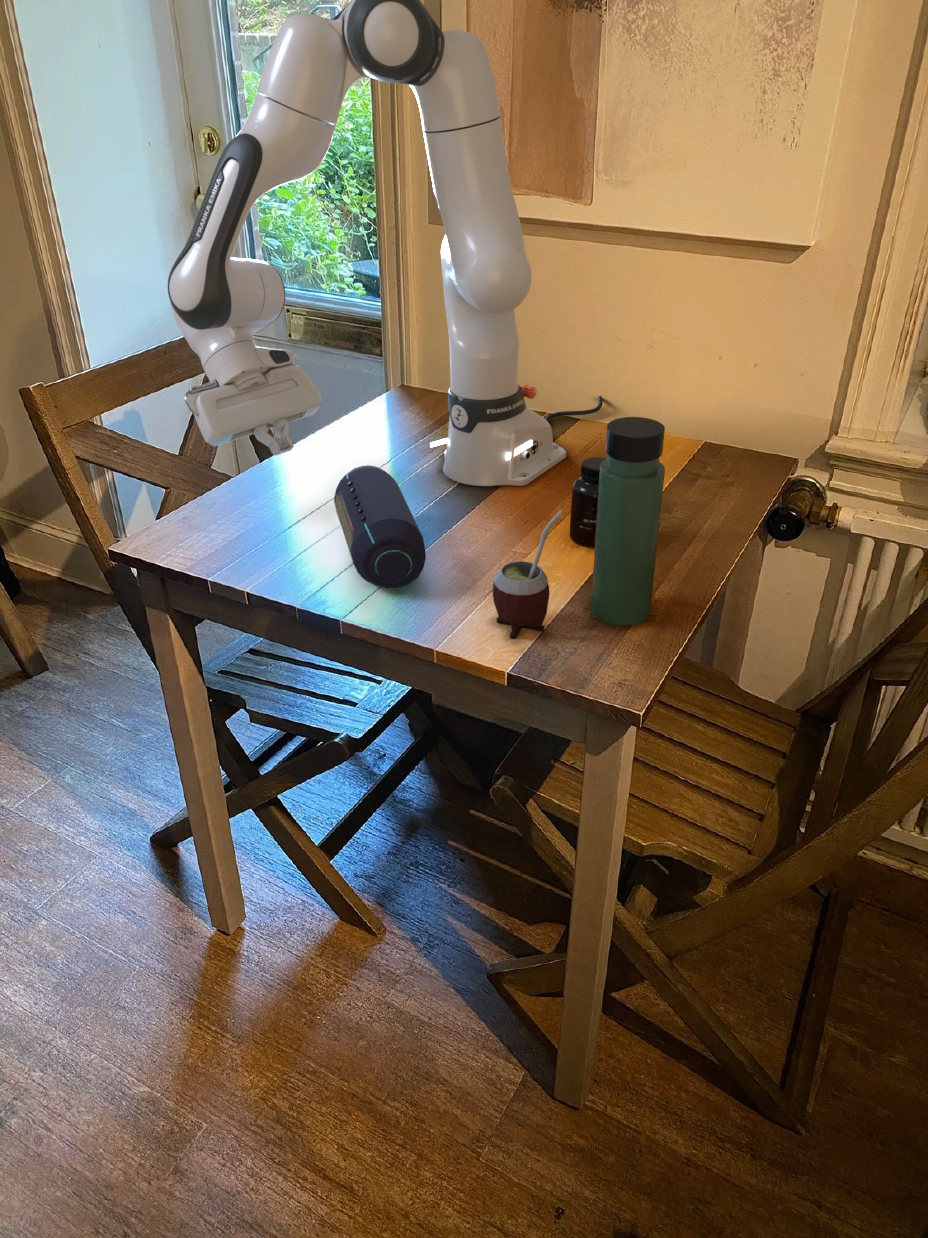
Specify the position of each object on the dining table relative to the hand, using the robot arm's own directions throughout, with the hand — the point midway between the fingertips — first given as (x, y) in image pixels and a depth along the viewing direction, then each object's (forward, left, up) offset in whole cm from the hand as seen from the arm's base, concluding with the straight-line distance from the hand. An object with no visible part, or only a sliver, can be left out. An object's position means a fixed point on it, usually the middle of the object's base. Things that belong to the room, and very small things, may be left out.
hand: (284, 451), depth 143 cm
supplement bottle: (-25, +40, -10) cm, 49 cm away
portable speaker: (0, +21, -10) cm, 24 cm away
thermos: (-12, +55, -10) cm, 58 cm away
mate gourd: (-1, +49, -10) cm, 50 cm away
